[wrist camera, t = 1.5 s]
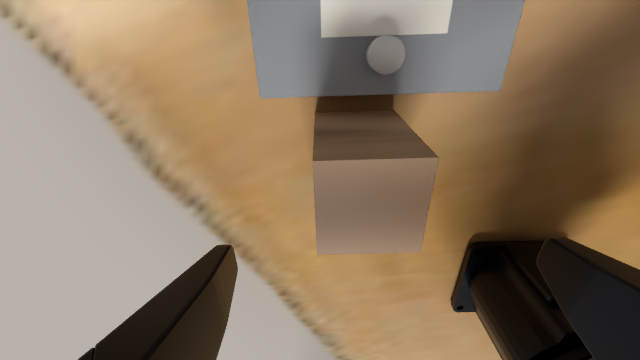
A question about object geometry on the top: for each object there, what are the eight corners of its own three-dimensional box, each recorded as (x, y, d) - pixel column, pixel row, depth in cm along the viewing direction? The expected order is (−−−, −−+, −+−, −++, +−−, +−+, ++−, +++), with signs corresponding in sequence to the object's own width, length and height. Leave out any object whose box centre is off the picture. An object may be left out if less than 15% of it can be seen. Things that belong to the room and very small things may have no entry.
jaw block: (386, 178, 16) (420, 252, 11) (317, 180, 16) (317, 254, 11) (393, 109, 14) (438, 157, 9) (315, 112, 14) (312, 161, 9)
